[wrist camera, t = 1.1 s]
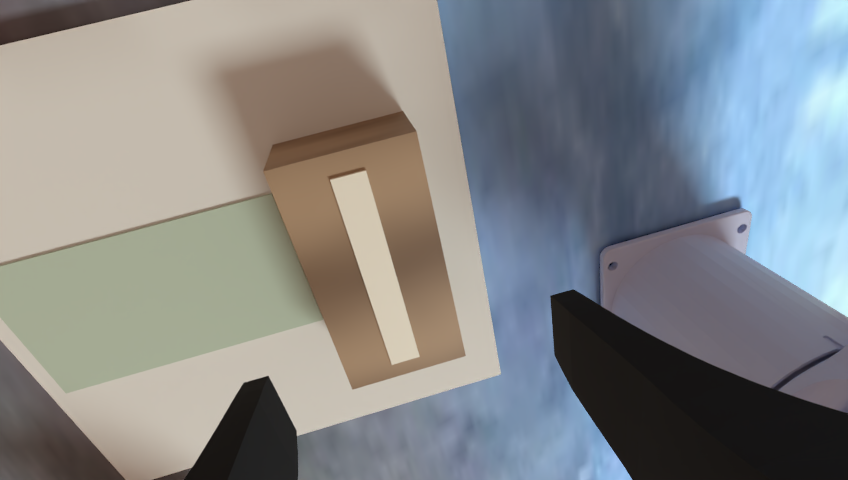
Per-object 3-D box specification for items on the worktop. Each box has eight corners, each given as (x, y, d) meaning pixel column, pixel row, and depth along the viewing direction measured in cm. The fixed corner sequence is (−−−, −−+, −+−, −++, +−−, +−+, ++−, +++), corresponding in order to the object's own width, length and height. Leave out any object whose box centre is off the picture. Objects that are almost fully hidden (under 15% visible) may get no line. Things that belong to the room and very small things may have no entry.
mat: (497, 366, 25) (501, 375, 25) (135, 475, 24) (130, 487, 23) (423, -54, 15) (428, -56, 15) (-198, 93, 14) (-221, 97, 14)
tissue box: (449, 313, 22) (466, 357, 19) (349, 343, 22) (352, 391, 19) (403, 110, 17) (417, 131, 15) (272, 144, 17) (262, 172, 14)
